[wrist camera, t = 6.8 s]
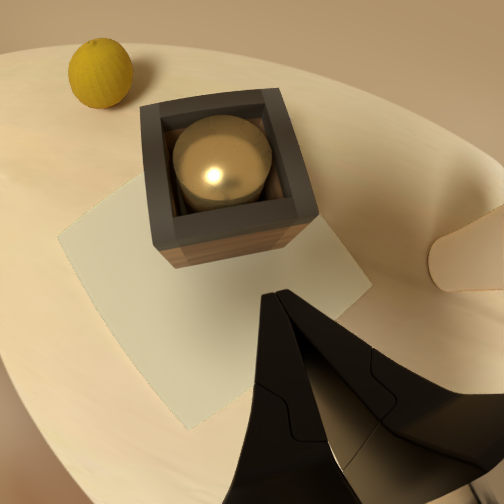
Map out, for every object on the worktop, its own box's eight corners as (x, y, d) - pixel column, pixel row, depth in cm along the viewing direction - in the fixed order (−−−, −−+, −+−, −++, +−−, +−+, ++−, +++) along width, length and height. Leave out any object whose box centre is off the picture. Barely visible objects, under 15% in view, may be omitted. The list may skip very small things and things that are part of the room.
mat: (370, 285, 23) (372, 285, 23) (189, 429, 19) (188, 431, 19) (236, 118, 25) (236, 115, 24) (58, 237, 21) (56, 236, 21)
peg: (260, 230, 22) (282, 191, 15) (191, 243, 21) (179, 208, 14) (245, 168, 23) (259, 110, 16) (180, 179, 22) (168, 123, 15)
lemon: (116, 73, 24) (98, 16, 17) (151, 94, 24) (137, 31, 16) (75, 109, 23) (45, 56, 15) (107, 134, 23) (77, 76, 15)
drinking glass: (462, 231, 26) (577, 184, 11) (469, 298, 24) (593, 278, 10) (415, 228, 25) (545, 165, 10) (422, 303, 23) (567, 284, 9)
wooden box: (282, 248, 23) (319, 214, 15) (176, 269, 22) (152, 245, 13) (258, 154, 24) (278, 87, 16) (161, 170, 23) (139, 106, 15)
